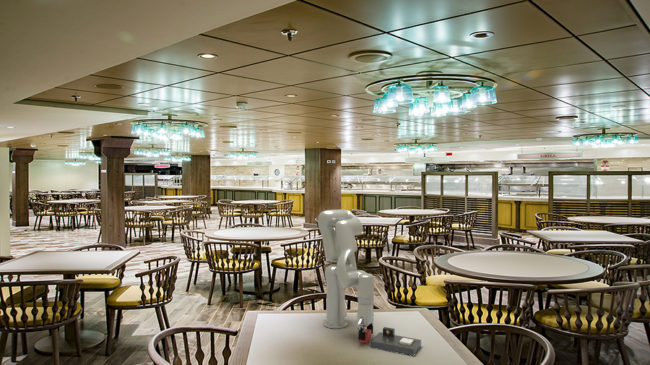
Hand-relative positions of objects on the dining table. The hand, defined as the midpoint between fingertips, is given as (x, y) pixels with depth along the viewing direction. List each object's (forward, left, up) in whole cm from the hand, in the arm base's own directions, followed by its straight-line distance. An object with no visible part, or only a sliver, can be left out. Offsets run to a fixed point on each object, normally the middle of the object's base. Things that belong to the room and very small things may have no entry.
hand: (365, 336), depth 200 cm
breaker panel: (0, +15, -2) cm, 15 cm away
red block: (0, 0, -2) cm, 2 cm away
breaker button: (0, +20, -1) cm, 20 cm away
